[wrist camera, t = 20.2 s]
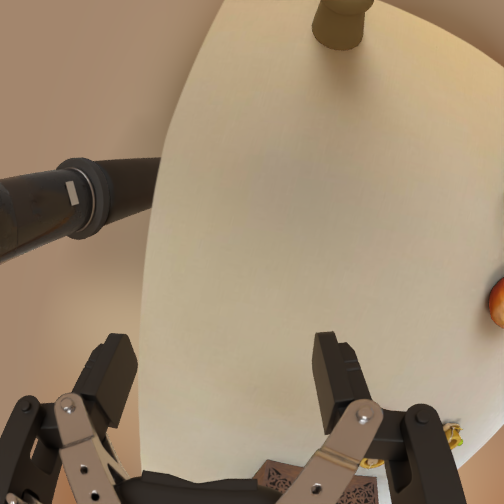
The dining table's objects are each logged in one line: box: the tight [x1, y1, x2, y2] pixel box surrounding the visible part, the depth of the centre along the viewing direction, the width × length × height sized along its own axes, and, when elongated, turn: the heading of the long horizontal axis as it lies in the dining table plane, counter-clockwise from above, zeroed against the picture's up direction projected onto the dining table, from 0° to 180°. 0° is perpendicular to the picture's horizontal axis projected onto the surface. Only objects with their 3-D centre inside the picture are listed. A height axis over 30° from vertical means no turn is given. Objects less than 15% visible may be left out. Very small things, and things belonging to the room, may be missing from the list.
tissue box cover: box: [252, 460, 379, 504], centre depth 45 cm, size 26×14×10 cm, turn 74°
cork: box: [312, 0, 374, 51], centre depth 21 cm, size 6×6×11 cm
